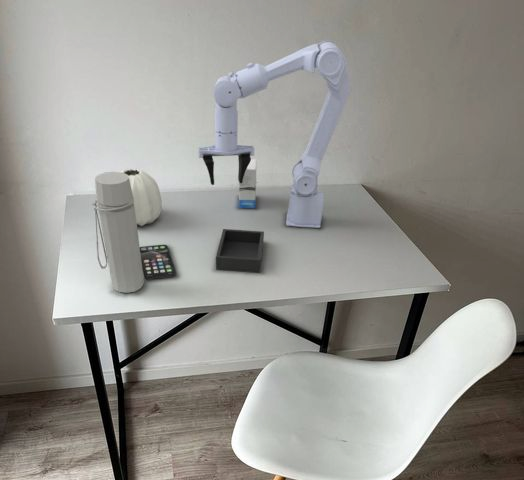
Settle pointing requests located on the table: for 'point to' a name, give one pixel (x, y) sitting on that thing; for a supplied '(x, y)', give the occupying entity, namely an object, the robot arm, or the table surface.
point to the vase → (144, 196)
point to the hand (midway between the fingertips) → (226, 182)
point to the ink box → (248, 187)
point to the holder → (240, 250)
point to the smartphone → (156, 262)
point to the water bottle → (119, 231)
